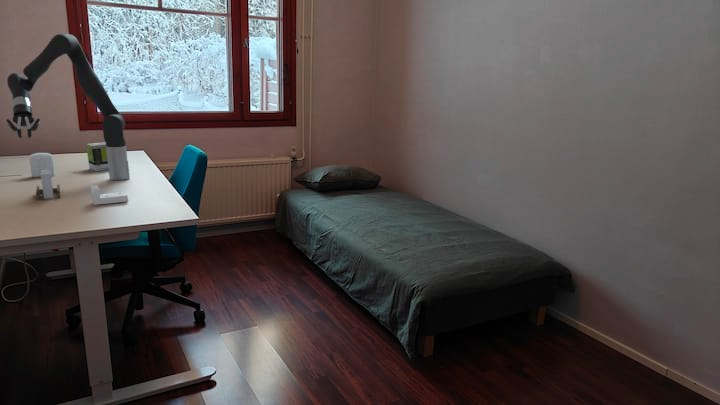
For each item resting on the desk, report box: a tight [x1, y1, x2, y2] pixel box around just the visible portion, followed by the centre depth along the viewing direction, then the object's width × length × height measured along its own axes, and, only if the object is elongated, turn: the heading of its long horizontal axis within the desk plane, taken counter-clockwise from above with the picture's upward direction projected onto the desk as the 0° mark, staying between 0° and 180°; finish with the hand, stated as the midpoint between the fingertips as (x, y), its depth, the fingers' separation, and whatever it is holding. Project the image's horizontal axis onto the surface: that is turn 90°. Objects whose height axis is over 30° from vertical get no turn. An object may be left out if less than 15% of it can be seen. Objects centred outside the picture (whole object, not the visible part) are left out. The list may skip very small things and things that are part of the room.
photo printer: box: [29, 152, 56, 178], centre depth 253 cm, size 10×4×12 cm, turn 123°
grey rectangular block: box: [40, 170, 54, 200], centre depth 214 cm, size 4×10×11 cm, turn 31°
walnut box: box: [35, 184, 61, 201], centre depth 216 cm, size 9×14×4 cm, turn 31°
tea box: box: [85, 141, 109, 172], centre depth 276 cm, size 15×10×15 cm, turn 135°
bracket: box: [90, 185, 129, 206], centre depth 207 cm, size 13×7×8 cm, turn 123°
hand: (24, 136), depth 225 cm, fingers open, 2 cm apart
